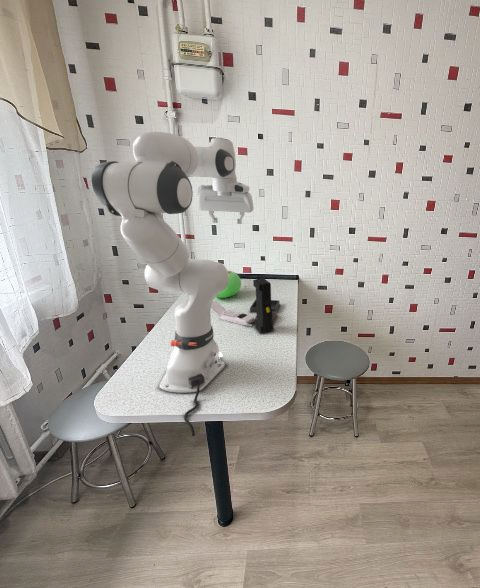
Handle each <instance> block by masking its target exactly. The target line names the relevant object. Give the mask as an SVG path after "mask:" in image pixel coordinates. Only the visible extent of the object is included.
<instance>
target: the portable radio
mask: <svg viewBox="0 0 480 588" xmlns="http://www.w3.org/2000/svg"><path fill="white" fill-rule="evenodd" d="M252 283H253V284H252V285H253V287H254V288H255V300H256V310H257V313H256V316H257V320H256V321H255V324H254V328H255V330H257V332H258V333H259V334H266V333H270V332H273V330H274V322H273V319H272V308H271V300H272V283H271V282H270V281H268V280H267V279H266V278H264V277H261V278H260V277H259V276H257V277H256V279H255V278H254V279H252Z"/></svg>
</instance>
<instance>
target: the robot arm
mask: <svg viewBox="0 0 480 588" xmlns="http://www.w3.org/2000/svg"><path fill="white" fill-rule="evenodd" d="M132 154H133V157H134V160H135V161H136V162H130V161H129V162H119V161H115V160H112V161H104V162H101V163H98V164H97V165H95V166H94V168H93V169H92V172H91V176H90V185H91V189H92V191H93V194H94V195H95V196H96V198H97V199H98V201H99V202H100V203H101V204H102V205H103V206H105V207H106V210H107V211H108V213H110V214H111V215H112V216H113V215H114V216H116V217H121V218H122V219H121V223H120V233H121V236H122V238H123V240H124V241H125V242H126V244H127V245H128V247H129V248H130V249H131V251H132V252H134V254H135V255H136V256H137V257H138V258H139V259H140V260H142V262H144V263H145V264H146V266H145V268H144V273H143V275H144V280H145V283H146V284H147V285H148V286H149V287H150V288H151V289H154V290H157V291H162V292H165V293H177V294H178V293H180V294H187V297H188V299H187V300H184V301H182V302H181V303H179V304H178V305H177V306H176V307H175V309H174V310H173V318H174V326H175V332H174V339H171V340H170V342H169V343H170V344H169V345H170V346H171V347H173V349H172V352H171V354H170V357H169V359H168V363H167V364H166V370H165V374H164V375H163V377H162V379H161V380H160V383H159V388H160V389H162V391H166V392H169V393H170V392H171V393H178V394H180V393H181V394H186V393H187V394H188V393H196V394H195V395H194V399H193V403H194V406H193V407H192V408H190V409H189V410H187V411H186V412H185V413H184V416H183V420H184V422H185V423H186V424H187V426H188V427H189V429H190V431H191V432H190V433H191V436H192V437H195V436H196V433H195V428H194V426H193V424H192V423H191V421H189V419H188V415H189V414H190V413H192V412H193V411H195V410H196V409H197V408H198V406H199V403H198V402H197V400H198V397H199V394H200V391H202V390H203V389H205V387H206V386H208V385H209V384H210V383H211V381H213V379H214V378H215V377H216V376H217V375H218V374H219V373H220V372H221V371H222V370H223V369H224V368H225V366H226V364H225V362H224V361H223V360H221V359H222V357H223V353H221V352H220V348H219V345H218V343H217V342H216V341H215V339H214V337H215V335H214V334H215V333H214V329H213V326H212V319H211V310H212V309H211V304H212V302H213V301H215V299H216V298H217V297H216V296H217V295H218V294H219V293H221V292H222V291H223V290H224V289H225V288H226V287H227V285H228V281H229V274H228V271H229V270H228V268H227V267H226V266H225V264H224V263H222V262H218V261H214V260H211V259H202V258H201V259H199V258H198V259H197V258H190V251H189V248H188V246H187V245H186V244H185V242H184V241H183V240H182V238H181V237H180V236H179V235H178V234H177V232H176V231H175V230H174V229H173V228H172V227H171V226H170V225H169V224H168V222H166V221H165V220H164V218H163V215H162V214H168V215H177V214H178V215H179V214H183V213H185V212H186V211H187V210H188V209H189V208H190V206H191V204H192V202H193V186H192V184H191V181H190V179H189V177H191V178H193V177H195V178H196V177H198V178H211V182H212V183H211V184H212V185H209V184H208V185H207V184H206V185H204V184H201V185H199V186H198V187H197V190H196V191H197V192H196V193H197V196H198V201H197V202H198V203H197V204H198V209H199V210H200V211H205V212H208V215H209V216H210V218H211V221H212V224H217V223H219V221H218V217H216V216H215V215H214V214H215V212H227V213H239V218H237V219H236V223H237V225H242V224H243V218H244V217H245V215H246V214H245V213H249V214H250V213H252V212H253V211H254V209H255V208H254V200H253V196H252V194H251V192H250V189H251V187H250V186H249V185H248V184H244V183H242V182H240V181H238V179H237V175H236V169H237V168H236V167H237V162H236V161H237V160H236V153H235V148H234V143H233V142H232V141H231V140H230V139H227V138H223V137H213V138H211V140H210V145H209V147H208V146H194V144H192V142H190V141H189V140H188V139H186V138H185V137H183V136H180V135H177V134H174V133H171V132H165V131H147V132H143V133H141V134H139V135H138V136H137V137H136V138H135V139H134V141H133V144H132Z"/></svg>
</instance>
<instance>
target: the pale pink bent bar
mask: <svg viewBox="0 0 480 588" xmlns="http://www.w3.org/2000/svg"><path fill="white" fill-rule="evenodd" d="M210 310H212V311H213V312H214V313H215V314H217V316H219V318H220V320H223V321H225V322H229V323H233V324H237V325H241V326H247V327H253V326H254V325H253V324H252V323H253V322H254V319H255V317H254V316H253V315H250V314H248V313H243V312H242V313H241V312H237V311H233V310H229V309H226V308H225V307H224V306H223V305H221V304H220V303H219V302H218V301H217V300H213V302H212V304H211V309H210Z"/></svg>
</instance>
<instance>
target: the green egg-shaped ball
mask: <svg viewBox="0 0 480 588" xmlns="http://www.w3.org/2000/svg"><path fill="white" fill-rule="evenodd" d="M227 271H228V274H229V281H228V285H227V287H226V288H225V289H224V290H223V291H222V292H221V293H219V294H218V295H217V296H216V297H215V298H220V299H225V298H226V299H227V298H230V297H233V296H235V295H236V294H238V292H239V291H240V289H241V287H242V280H241V277H240V276H239V275H238V274H237V273H236V272H235V271H232V270H227Z"/></svg>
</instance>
